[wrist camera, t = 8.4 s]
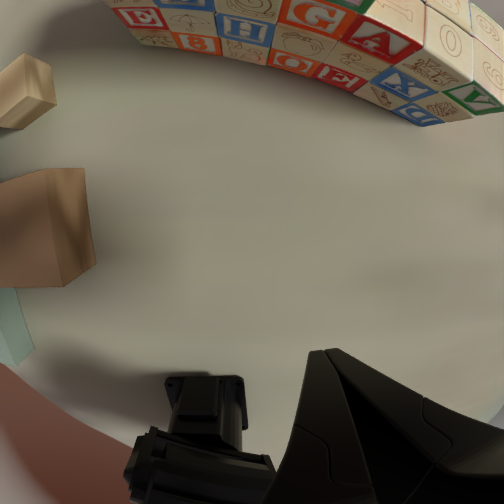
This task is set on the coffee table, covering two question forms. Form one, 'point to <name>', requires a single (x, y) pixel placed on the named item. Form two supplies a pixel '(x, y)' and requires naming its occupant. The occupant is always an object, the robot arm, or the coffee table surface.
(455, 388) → the coffee table surface
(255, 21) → the stack of blocks
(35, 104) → the oak cube
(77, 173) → the walnut brick
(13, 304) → the board
